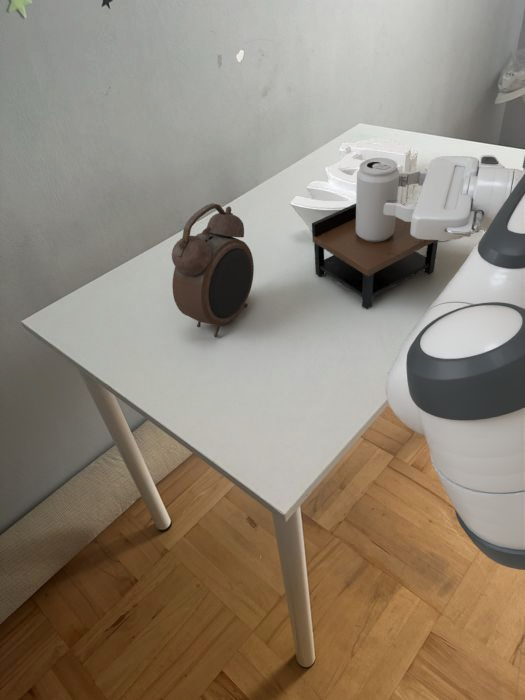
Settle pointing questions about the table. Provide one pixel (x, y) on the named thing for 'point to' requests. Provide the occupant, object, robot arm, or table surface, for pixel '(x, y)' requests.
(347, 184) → the wavy white extrusion
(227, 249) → the alarm clock
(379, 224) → the beverage can
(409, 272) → the miniature side table
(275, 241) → the table surface
